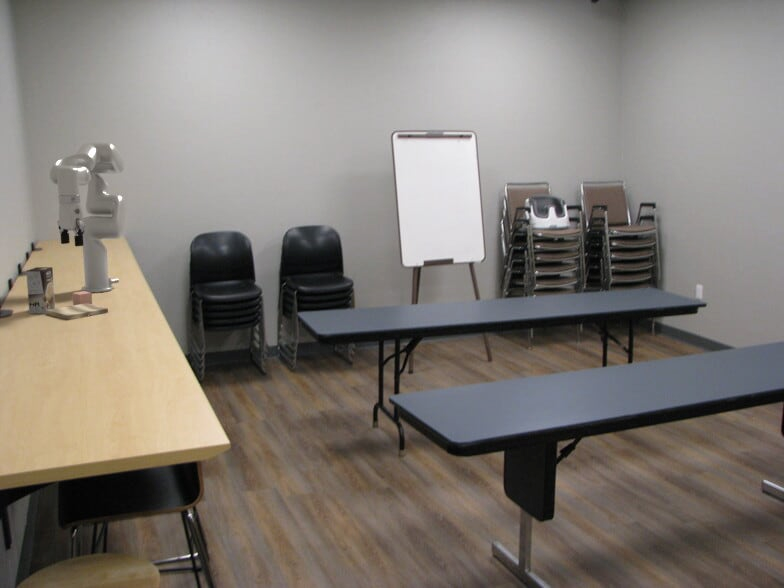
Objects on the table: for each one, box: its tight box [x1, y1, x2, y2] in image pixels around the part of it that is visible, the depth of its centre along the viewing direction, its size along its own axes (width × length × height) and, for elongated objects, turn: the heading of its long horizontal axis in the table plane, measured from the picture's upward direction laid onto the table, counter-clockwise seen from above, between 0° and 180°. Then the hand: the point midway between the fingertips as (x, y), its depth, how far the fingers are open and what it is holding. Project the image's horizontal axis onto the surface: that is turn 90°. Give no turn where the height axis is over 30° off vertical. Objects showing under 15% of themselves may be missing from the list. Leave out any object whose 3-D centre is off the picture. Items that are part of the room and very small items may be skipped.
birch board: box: [46, 303, 109, 321], centre depth 274 cm, size 16×14×2 cm
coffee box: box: [25, 266, 56, 314], centre depth 275 cm, size 9×6×16 cm
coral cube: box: [71, 290, 93, 306], centre depth 287 cm, size 5×5×5 cm
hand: (72, 244), depth 282 cm, fingers open, 9 cm apart
